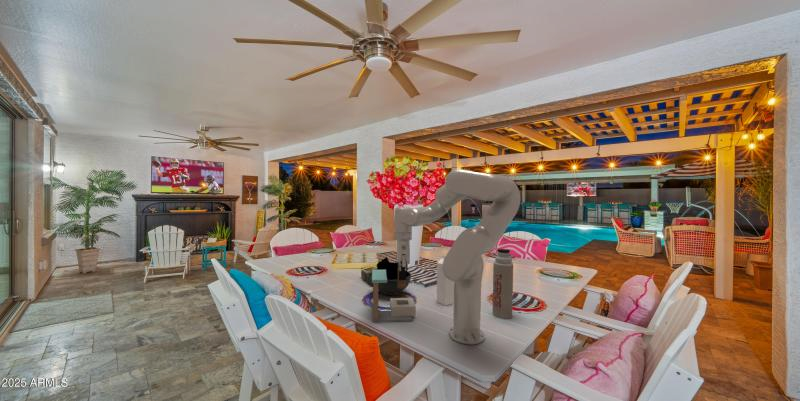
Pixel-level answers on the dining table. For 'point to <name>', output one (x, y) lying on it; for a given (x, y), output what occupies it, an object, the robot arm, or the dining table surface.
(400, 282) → the peg
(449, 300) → the milk
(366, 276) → the juice carton
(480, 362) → the dining table surface
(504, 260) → the thermos bottle
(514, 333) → the dining table surface
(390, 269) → the coal bowl
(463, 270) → the robot arm
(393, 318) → the socket station
